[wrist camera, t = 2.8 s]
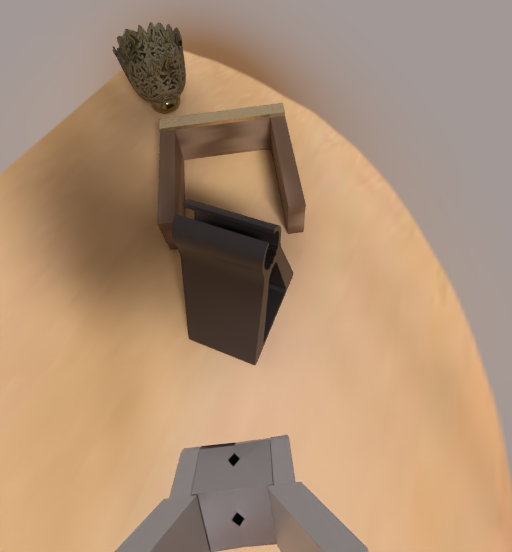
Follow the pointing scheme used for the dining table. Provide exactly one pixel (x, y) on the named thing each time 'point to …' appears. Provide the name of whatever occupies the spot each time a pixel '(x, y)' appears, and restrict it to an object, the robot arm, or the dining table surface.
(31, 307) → the dining table surface
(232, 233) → the phone stand
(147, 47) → the cup
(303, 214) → the frame
